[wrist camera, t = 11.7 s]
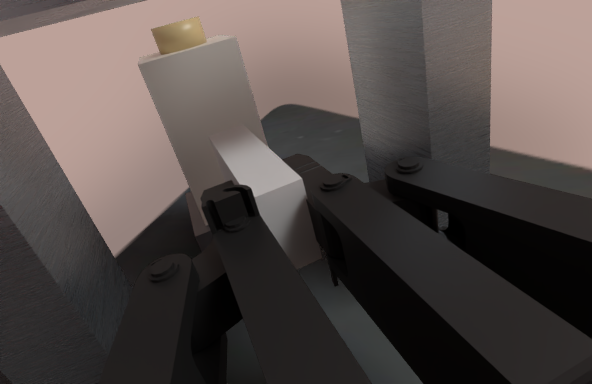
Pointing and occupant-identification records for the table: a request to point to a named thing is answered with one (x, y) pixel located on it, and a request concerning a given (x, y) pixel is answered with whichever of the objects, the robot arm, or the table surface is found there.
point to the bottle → (199, 103)
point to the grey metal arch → (91, 246)
